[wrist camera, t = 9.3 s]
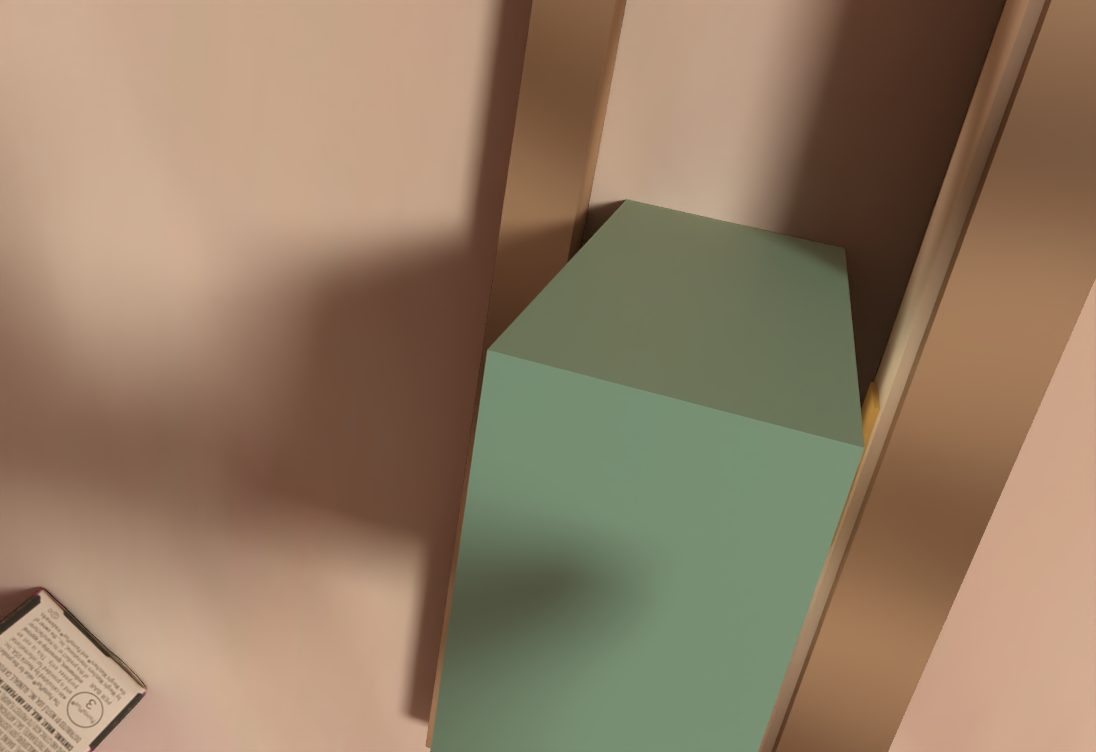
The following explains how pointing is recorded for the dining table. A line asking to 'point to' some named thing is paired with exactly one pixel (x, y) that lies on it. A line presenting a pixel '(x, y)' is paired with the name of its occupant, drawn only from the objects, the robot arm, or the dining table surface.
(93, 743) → the candy bar box
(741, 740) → the tea box
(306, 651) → the dining table surface
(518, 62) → the dining table surface
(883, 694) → the shelf slot
